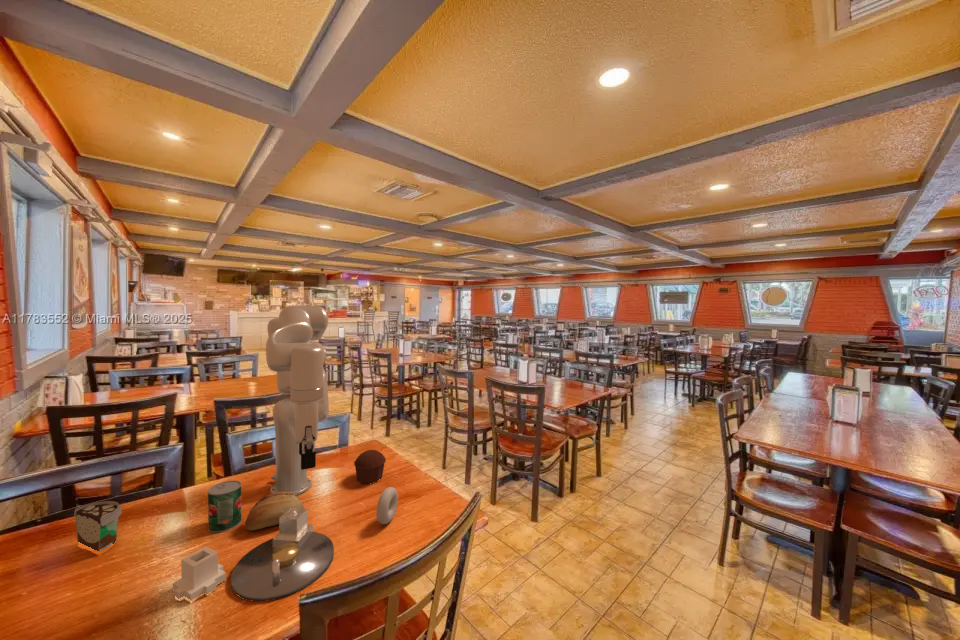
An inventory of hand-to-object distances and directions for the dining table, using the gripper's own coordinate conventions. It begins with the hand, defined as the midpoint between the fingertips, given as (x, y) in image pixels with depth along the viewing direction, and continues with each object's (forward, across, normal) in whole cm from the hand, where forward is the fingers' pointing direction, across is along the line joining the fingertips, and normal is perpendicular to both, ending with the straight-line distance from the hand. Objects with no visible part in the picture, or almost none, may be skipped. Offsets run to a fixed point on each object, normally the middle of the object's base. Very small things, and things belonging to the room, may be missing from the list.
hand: (307, 460), depth 90 cm
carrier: (+24, +2, -5) cm, 25 cm away
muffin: (+24, -33, +23) cm, 47 cm away
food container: (+24, -29, -46) cm, 60 cm away
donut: (+25, -4, +22) cm, 33 cm away
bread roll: (+25, -19, -7) cm, 32 cm away
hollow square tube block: (+24, 0, -22) cm, 33 cm away
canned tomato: (+24, -24, -20) cm, 40 cm away
